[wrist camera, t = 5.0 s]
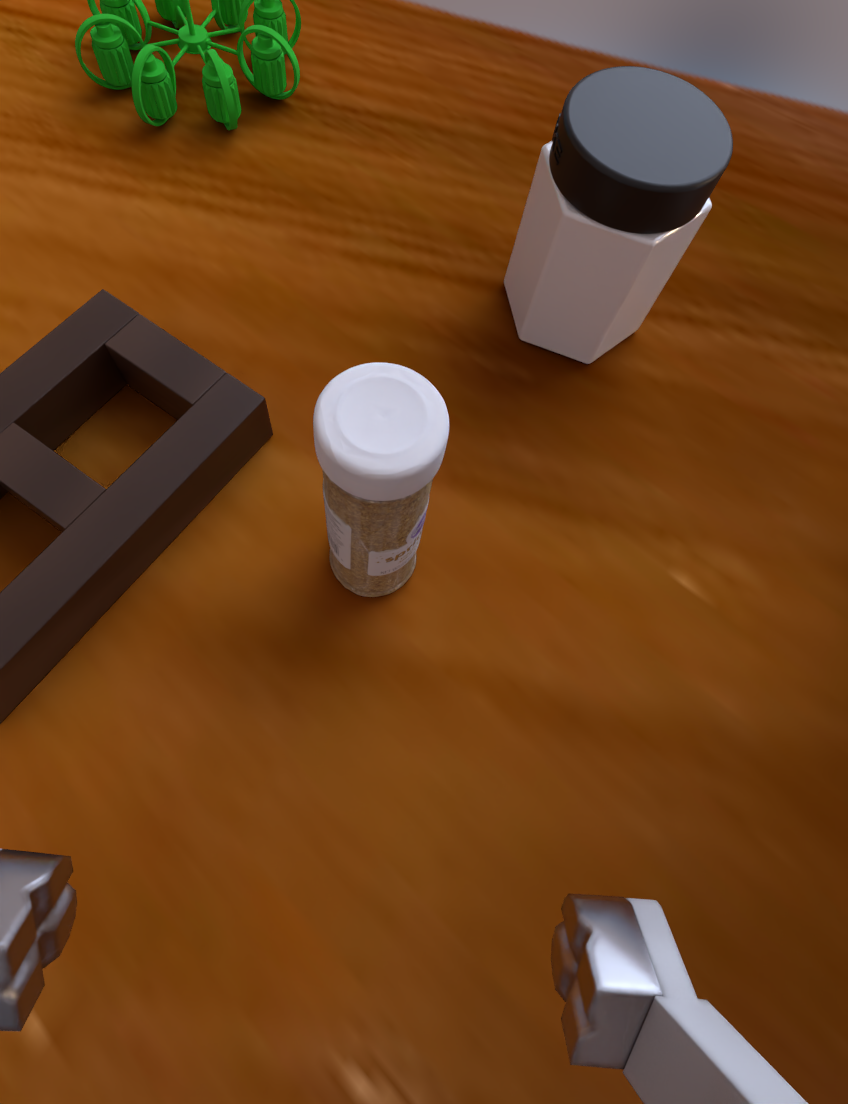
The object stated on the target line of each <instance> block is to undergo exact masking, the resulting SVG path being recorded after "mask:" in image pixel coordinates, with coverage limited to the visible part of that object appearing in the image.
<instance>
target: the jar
mask: <svg viewBox="0 0 848 1104" xmlns="http://www.w3.org/2000/svg"><path fill="white" fill-rule="evenodd" d="M732 150H733V140H732V134H731V130H730V127H729V124H728V122H727V120H726V118H725V116H724V115H723V113H722V112H721V110H720V109H719V108H718V107H717V106H716V104H715V103H714V102H713V101H712V100H711V99H710V98H709V97H708V96H706V95H705V94H704V93H703V92H702V91H700V90H699V89H698V88H696V87H694V86H693V85H691V84H690V83H688V82H686V81H684V80H682V79H680V78H678V77H676V76H673V75H671V74H668V73H665V72H662V71H658V70H655V69H650V68H644V67H633V66H622V67H612V68H607V69H603V70H600V71H597V72H594V73H592V74H590V75H588V76H586V77H585V78H583V79H582V80H580V81H579V82H578V83H577V84H576V85H575V86H574V87H573V88H572V89H571V91H570V92H569V94H568V96H567V98H566V100H565V103H564V106H563V109H562V113H560V114H559V117H558V120H557V123H556V127H555V130H554V134H553V138H552V141H551V142H549V143H547V144H545V145H544V146H543V147H542V149H541V153H540V156H539V160H538V163H537V167H536V170H535V174H534V177H533V181H532V184H531V188H530V191H529V195H528V198H527V202H526V205H525V209H524V212H523V216H522V219H521V223H520V226H519V230H518V233H517V237H516V240H515V244H514V247H513V251H512V254H511V258H510V261H509V265H508V268H507V272H506V275H505V279H504V285H505V289H506V292H507V296H508V300H509V303H510V307H511V311H512V314H513V318H514V322H515V325H516V329H517V333H518V336H519V338H520V340H522V341H525V342H528V343H530V344H533V345H536V346H539V347H541V348H544V349H547V350H550V351H552V352H555V353H558V354H561V355H563V356H566V357H569V358H572V359H574V360H577V361H580V362H583V363H585V364H590V363H592V362H593V361H595V360H596V359H597V358H599V357H600V356H602V355H603V354H604V353H606V352H607V351H609V350H610V349H612V348H613V347H614V346H616V345H617V344H619V343H620V342H621V341H623V340H624V339H626V338H627V337H628V336H630V335H631V334H633V333H634V332H635V331H637V330H638V329H639V327H640V325H641V324H642V322H643V320H644V319H645V317H646V315H647V314H648V312H649V310H650V309H651V307H652V305H653V304H654V302H655V300H656V299H657V297H658V295H659V294H660V292H661V290H662V289H663V287H664V285H665V284H666V282H667V281H668V279H669V277H670V276H671V274H672V272H673V271H674V269H675V267H676V266H677V264H678V262H679V261H680V259H681V257H682V256H683V254H684V252H685V251H686V249H687V247H688V246H689V244H690V242H691V241H692V239H693V237H694V236H695V234H696V232H697V231H698V229H699V228H700V226H701V224H702V223H703V221H704V219H705V218H706V216H707V214H708V213H709V211H710V209H711V207H712V203H711V201H710V198H709V196H710V194H711V193H712V191H713V189H714V188H715V186H716V184H717V183H718V181H719V179H720V177H721V176H722V174H723V172H724V171H725V169H726V167H727V166H728V164H729V161H730V159H731V155H732Z"/></svg>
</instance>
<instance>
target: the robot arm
mask: <svg viewBox="0 0 848 1104" xmlns="http://www.w3.org/2000/svg"><path fill="white" fill-rule="evenodd" d="M72 873H73V866H72V861H71V856H64V855H55V854H45V853H36V852H26V851H17V850H8V849H0V1031H21V1030H22V1028H23V1026H24V1024H25V1022H26V1020H27V1018H28V1016H29V1014H30V1012H31V1011H32V1009H33V1007H34V1005H35V1003H36V1001H37V999H38V997H39V995H40V993H41V991H42V989H43V987H44V986H45V983H44V977H43V970H42V969H43V968H45V967H46V966H47V965H48V964H50V963H51V962H52V961H54V960H55V959H56V958H58V957H59V956H60V954H61V952H62V950H63V948H64V946H65V944H66V942H67V940H68V938H69V936H70V932H71V929H72V926H73V923H74V920H75V916H76V907H77V897H76V890H75V889H73V888H72V887H71V886H70V885H69V884H68V883H67V882H68V880H69V878H70V876H71V874H72ZM561 910H562V915H563V919H564V921H563V922H561V923H560V924H558V925H557V926H556V927H555V930H554V934H553V938H552V947H551V965H552V975H553V980H554V986H555V990H556V991H557V992H558V994H559V995H560V996H561V997H562V998H563V1000H564V1001H565V1002H566V1005H565V1008H564V1011H563V1014H562V1017H561V1021H562V1026H563V1031H564V1036H565V1041H566V1046H567V1051H568V1056H569V1061H570V1065H581V1066H591V1067H602V1068H613V1069H624V1071H623V1074H624V1075H625V1077H626V1078H627V1080H628V1081H629V1083H630V1084H631V1085H632V1087H633V1088H634V1090H635V1091H636V1093H637V1094H638V1096H639V1097H640V1099H641V1100H642V1102H643V1103H644V1104H808V1103H807V1102H806V1101H805V1100H804V1099H803V1098H802V1097H801V1096H800V1095H799V1094H798V1093H797V1092H796V1091H795V1090H794V1089H793V1088H792V1087H791V1086H790V1085H789V1084H788V1083H787V1082H786V1081H785V1080H784V1079H783V1077H782V1076H781V1075H780V1074H779V1073H778V1072H777V1071H776V1070H775V1069H774V1068H773V1067H772V1066H771V1065H770V1064H769V1063H768V1062H767V1061H766V1060H765V1059H764V1058H763V1057H762V1056H761V1055H760V1054H759V1053H758V1052H757V1051H756V1050H755V1049H754V1048H753V1047H752V1046H751V1045H750V1044H749V1043H748V1042H747V1041H746V1040H745V1039H744V1038H743V1037H742V1036H741V1034H740V1033H739V1032H738V1031H737V1030H736V1029H735V1028H734V1027H733V1026H732V1025H731V1024H730V1023H729V1022H728V1021H727V1020H726V1019H725V1018H724V1017H723V1016H722V1015H721V1014H720V1013H719V1012H718V1011H717V1010H716V1009H715V1008H714V1007H713V1006H712V1005H711V1004H710V1003H709V1002H708V1001H707V1000H703V999H698V998H697V996H696V993H695V991H694V988H693V986H692V983H691V981H690V978H689V976H688V973H687V970H686V968H685V965H684V963H683V960H682V958H681V955H680V953H679V950H678V948H677V945H676V943H675V940H674V938H673V935H672V933H671V930H670V928H669V925H668V923H667V920H666V917H665V915H664V912H663V910H662V907H661V906H660V905H659V903H658V902H657V901H656V900H647V899H633V898H624V897H615V896H599V895H583V894H568V895H567V896H566V897H565V898H564V901H563V904H562V907H561Z"/></svg>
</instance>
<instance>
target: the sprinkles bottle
mask: <svg viewBox="0 0 848 1104" xmlns="http://www.w3.org/2000/svg"><path fill="white" fill-rule="evenodd" d="M313 427H314V441H315V450H316V455H317V458H318V461H319V463H320V465H321V467H322V470H323V494H324V503H325V513H326V523H327V532H328V540H329V544H330V558H329V559H330V565H331V568H332V570H333V573H334V575H335V577H336V578H337V579H338V580H339V582H340V583H341V584H342V585H343V586H344V587H345V588H347V589H349V590H350V591H352V592H354V593H356V594H357V595H360V596H366V597H378V596H383V595H387V594H390V593H392V592H394V591H396V590H398V589H399V588H400V587H401V586H403V585H404V583H405V582H406V581H407V580H408V579H409V578H410V577H411V575H412V573H413V570H414V568H415V564H416V550H417V548H418V545H419V542H420V538H421V533H422V529H423V524H424V521H425V516H426V511H427V506H428V502H429V494H430V489H431V484H432V481H433V477H434V476H435V475H436V473H437V471H438V470H439V468H440V465H441V463H442V460H443V456H444V453H445V449H446V445H447V440H448V435H449V415H448V411H447V407H446V405H445V402H444V400H443V398H442V396H441V395H440V393H439V392H438V391H437V389H436V388H435V387H434V386H433V385H432V384H431V383H430V382H429V381H428V380H427V379H426V378H424V377H423V376H422V375H420V374H418V373H417V372H415V371H413V370H411V369H409V368H407V367H404V366H401V365H397V364H391V363H367V364H362V365H358V366H355V367H352V368H350V369H348V370H345V371H344V372H342V373H340V374H339V375H337V376H336V377H335V378H333V379H332V380H331V381H330V382H329V383H328V384H327V385H326V387H325V388H324V390H323V391H322V392H321V394H320V396H319V398H318V400H317V403H316V406H315V410H314V417H313Z"/></svg>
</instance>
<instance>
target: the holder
mask: <svg viewBox="0 0 848 1104" xmlns="http://www.w3.org/2000/svg"><path fill="white" fill-rule="evenodd" d="M126 384H127V385H128V386H130V387H131V388H133V389H134V390H135V391H137V392H138V393H140V394H141V395H143V396H144V397H146V398H147V399H148V400H150V401H151V402H153V403H154V404H156V405H157V406H158V407H160V408H161V409H163V410H164V411H166V412H167V413H169V414H170V415H171V416H173V417H174V418H176V419H177V420H178V421H177V422H175V423H174V424H173V425H172V426H171V427H170V428H169V429H168V430H167V431H166V432H165V433H164V434H163V435H162V436H161V437H160V438H159V439H158V440H157V441H156V442H155V443H154V444H153V445H152V446H151V447H150V448H149V449H148V450H147V451H146V452H145V453H144V454H143V455H142V456H141V457H139V458H138V459H137V460H136V461H135V462H134V463H133V464H132V465H131V466H130V467H129V468H128V469H127V470H126V471H125V472H124V473H123V474H122V475H121V476H120V477H119V478H118V479H117V480H116V481H115V482H114V483H113V484H112V485H111V486H110V487H109V488H108V489H107V490H106V489H105V488H103V487H102V486H101V485H99V484H98V483H96V482H95V481H94V480H92V479H91V478H90V477H88V476H87V475H85V474H84V473H83V472H81V471H80V470H79V469H77V468H76V467H74V466H73V465H72V464H70V463H69V462H68V461H66V460H65V459H63V458H62V457H61V456H59V455H58V454H56V453H55V452H54V451H53V450H54V449H56V448H57V447H58V446H59V445H60V444H61V443H62V442H63V441H64V440H65V439H67V438H68V437H69V436H70V435H71V434H72V433H73V432H74V431H75V430H76V429H78V428H79V427H80V426H81V425H82V424H83V423H84V422H85V421H86V420H87V419H89V418H90V417H91V416H92V415H93V414H94V413H95V412H96V411H97V410H98V409H100V408H101V407H102V406H103V405H104V404H105V403H106V402H107V401H108V400H109V399H111V398H112V397H113V396H114V395H115V394H116V393H117V392H118V391H119V390H120V389H122V388H123V387H124V386H125V385H126ZM272 435H273V432H272V427H271V423H270V418H269V414H268V409H267V405H266V401H265V398H264V397H262V396H261V395H259V394H258V393H256V392H255V391H253V390H252V389H250V388H249V387H248V386H246V385H245V384H243V383H242V382H240V381H239V380H237V379H236V378H234V377H233V376H231V375H230V374H228V373H226V372H225V371H224V370H222V369H221V368H219V367H218V366H216V365H215V364H213V363H212V362H210V361H209V360H207V359H206V358H204V357H203V356H201V355H200V354H198V353H197V352H195V351H194V350H192V349H191V348H189V347H188V346H187V345H185V344H184V343H182V342H181V341H179V340H178V339H176V338H175V337H173V336H172V335H170V334H169V333H167V332H166V331H164V330H163V329H161V328H160V327H158V326H157V325H155V324H154V323H152V322H151V321H149V320H148V319H146V318H145V317H143V316H142V315H140V314H139V313H138V312H136V311H135V310H133V309H132V308H130V307H129V306H127V305H126V304H124V303H123V302H121V301H120V300H118V299H117V298H115V297H114V296H112V295H111V294H109V293H108V292H107V291H105V290H101V291H100V292H99V293H97V294H96V295H95V296H94V297H93V298H91V299H90V300H89V301H88V302H87V303H85V304H84V305H83V306H82V307H80V308H79V309H78V310H77V311H76V312H74V313H73V314H72V315H71V316H70V317H68V318H67V319H66V320H65V321H63V322H62V323H61V324H60V325H59V326H57V327H56V328H55V329H54V330H53V331H51V332H50V333H49V334H48V335H46V336H45V337H44V338H43V339H42V340H40V341H39V342H38V343H37V344H36V345H34V346H33V347H32V348H31V349H30V350H28V351H27V352H26V353H25V354H23V355H22V356H21V357H20V358H19V359H17V360H16V361H15V362H14V363H13V364H11V365H10V366H9V367H8V368H6V369H5V370H4V371H3V372H2V373H0V499H1V498H2V497H3V496H4V495H5V494H6V493H7V492H9V493H10V494H11V495H13V496H14V497H15V498H17V499H18V500H20V501H21V502H22V503H24V504H25V505H26V506H28V507H29V508H30V509H32V510H33V511H34V512H36V513H37V514H38V515H40V516H41V517H42V518H44V519H45V520H46V521H48V522H49V523H50V524H52V525H53V526H54V527H56V528H57V529H58V530H60V531H61V532H62V533H61V534H60V535H59V536H58V537H57V538H56V539H55V540H54V541H53V542H52V543H51V544H50V545H49V546H48V547H47V548H46V549H45V550H44V551H43V552H42V553H41V554H40V555H39V556H38V557H37V558H36V559H35V560H34V561H33V562H32V563H30V564H29V565H28V566H27V567H26V568H25V569H24V570H23V571H22V572H21V573H20V574H19V575H18V576H17V577H16V578H15V579H14V580H13V581H12V582H11V583H10V584H9V585H8V586H7V587H6V588H5V589H4V590H3V591H2V592H1V593H0V723H1V722H2V721H3V720H4V719H5V718H6V717H7V716H8V715H9V714H10V713H11V712H12V711H13V710H14V709H15V708H16V706H17V705H18V704H19V703H20V702H21V701H22V700H23V699H24V698H25V697H26V696H27V695H28V694H29V693H30V692H31V691H32V689H33V688H34V687H35V686H36V685H37V684H38V683H39V682H40V681H41V680H42V679H43V678H44V677H45V676H46V675H47V674H48V673H49V671H50V670H51V669H52V668H53V667H54V666H55V665H56V664H57V663H58V662H59V661H60V660H61V659H62V658H63V657H64V656H65V654H66V653H67V652H68V651H69V650H70V649H71V648H72V647H73V646H74V645H75V644H76V643H77V642H78V641H79V640H80V639H81V638H82V636H83V635H84V634H85V633H86V632H87V631H88V630H89V629H90V628H91V627H92V626H93V625H94V624H95V623H96V622H97V621H98V619H99V618H100V617H101V616H102V615H103V614H104V613H105V612H106V611H107V610H108V609H109V608H110V607H111V606H112V605H113V604H114V603H115V601H116V600H117V599H118V598H119V597H120V596H121V595H122V594H123V593H124V592H125V591H126V590H127V589H128V588H129V587H130V586H131V584H132V583H133V582H134V581H135V580H136V579H137V578H138V577H139V576H140V575H141V574H142V573H143V572H144V571H145V570H146V569H147V568H148V566H149V565H150V564H151V563H152V562H153V561H154V560H155V559H156V558H157V557H158V556H159V555H160V554H161V553H162V552H163V551H164V550H165V548H166V547H167V546H168V545H169V544H170V543H171V542H172V541H173V540H174V539H175V538H176V537H177V536H178V535H179V534H180V533H181V531H182V530H183V529H184V528H185V527H186V526H187V525H188V524H189V523H190V522H191V521H192V520H193V519H194V518H195V517H196V516H197V515H198V513H199V512H200V511H201V510H202V509H203V508H204V507H205V506H206V505H207V504H208V503H209V502H210V501H211V500H212V499H213V498H214V496H215V495H216V494H217V493H218V492H219V491H220V490H221V489H222V488H223V487H224V486H225V485H226V484H227V483H228V482H229V481H230V480H231V478H232V477H233V476H234V475H235V474H236V473H237V472H238V471H239V470H240V469H241V468H242V467H243V466H244V465H245V464H246V463H247V461H248V460H249V459H250V458H251V457H252V456H253V455H254V454H255V453H256V452H257V451H258V450H259V449H260V448H261V447H262V446H263V445H264V443H265V442H266V441H267V440H268V439H269V438H270V437H271V436H272Z"/></svg>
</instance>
